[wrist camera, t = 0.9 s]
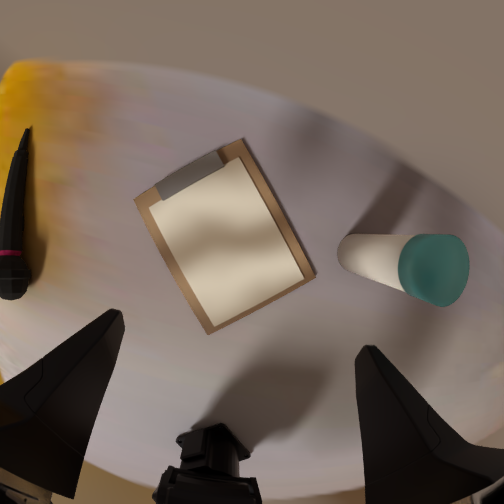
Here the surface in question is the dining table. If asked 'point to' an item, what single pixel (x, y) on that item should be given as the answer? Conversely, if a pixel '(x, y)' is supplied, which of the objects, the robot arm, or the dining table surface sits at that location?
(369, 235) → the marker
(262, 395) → the dining table surface
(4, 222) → the microphone
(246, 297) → the clipboard
